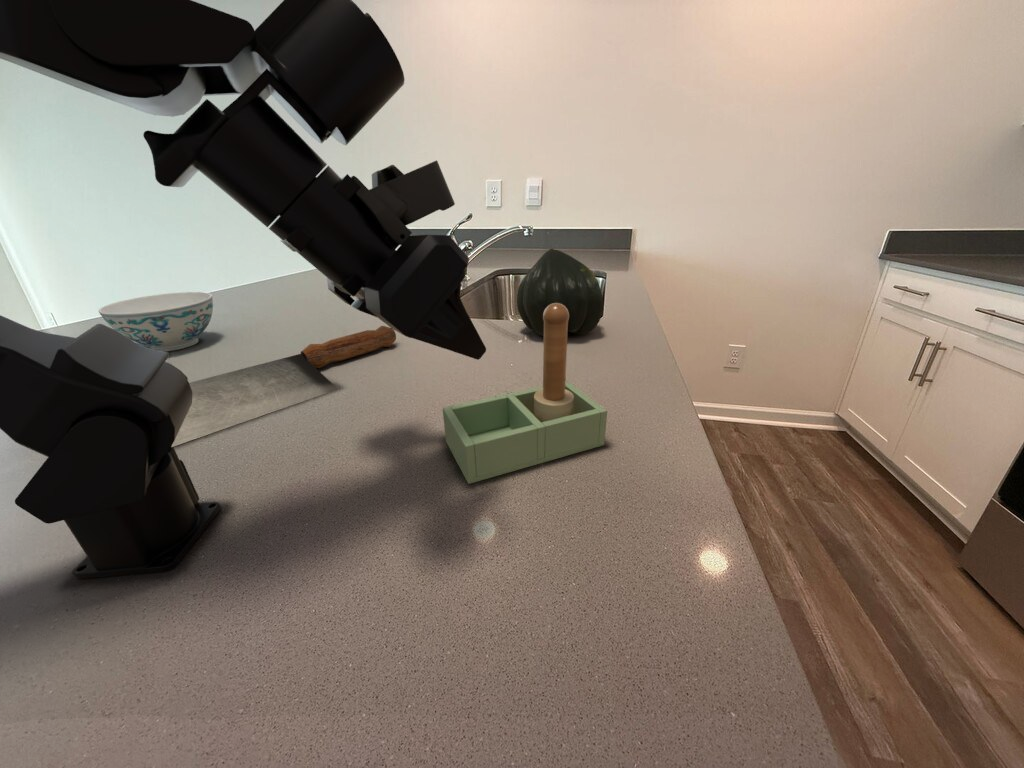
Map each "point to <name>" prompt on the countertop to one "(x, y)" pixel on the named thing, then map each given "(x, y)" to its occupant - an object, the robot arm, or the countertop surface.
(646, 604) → the countertop surface
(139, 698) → the countertop surface
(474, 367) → the countertop surface
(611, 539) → the countertop surface
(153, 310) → the chinaware
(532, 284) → the squash
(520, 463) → the green divided tray
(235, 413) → the meat cleaver
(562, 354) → the dish brush
